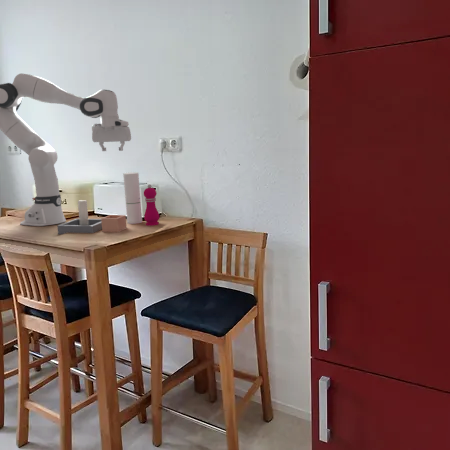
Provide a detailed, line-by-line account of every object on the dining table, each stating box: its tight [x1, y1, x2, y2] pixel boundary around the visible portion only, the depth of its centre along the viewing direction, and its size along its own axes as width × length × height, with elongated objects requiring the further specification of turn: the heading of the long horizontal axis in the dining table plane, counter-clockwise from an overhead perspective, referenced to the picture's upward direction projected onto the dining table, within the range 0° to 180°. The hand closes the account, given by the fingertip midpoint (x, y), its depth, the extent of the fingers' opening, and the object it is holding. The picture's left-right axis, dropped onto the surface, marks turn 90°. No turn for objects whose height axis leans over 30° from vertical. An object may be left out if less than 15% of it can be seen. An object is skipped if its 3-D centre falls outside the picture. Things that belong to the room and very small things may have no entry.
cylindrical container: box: [122, 171, 143, 225], centre depth 230 cm, size 7×7×25 cm
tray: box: [56, 218, 102, 235], centre depth 222 cm, size 18×16×4 cm
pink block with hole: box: [100, 214, 128, 233], centre depth 216 cm, size 8×8×7 cm
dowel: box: [77, 199, 89, 225], centre depth 221 cm, size 4×4×13 cm
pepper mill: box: [143, 184, 160, 227], centre depth 224 cm, size 7×7×20 cm
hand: (112, 150), depth 240 cm, fingers open, 8 cm apart
